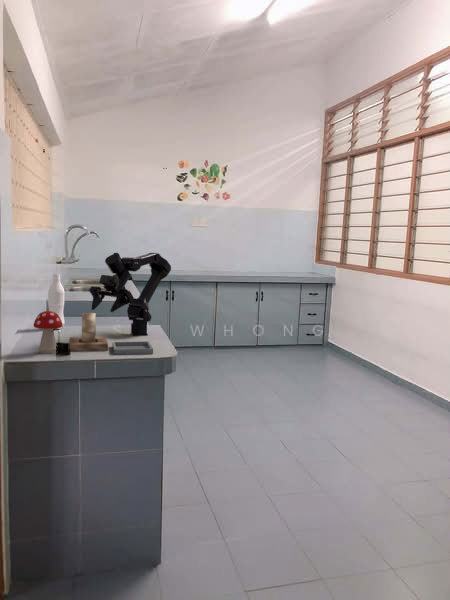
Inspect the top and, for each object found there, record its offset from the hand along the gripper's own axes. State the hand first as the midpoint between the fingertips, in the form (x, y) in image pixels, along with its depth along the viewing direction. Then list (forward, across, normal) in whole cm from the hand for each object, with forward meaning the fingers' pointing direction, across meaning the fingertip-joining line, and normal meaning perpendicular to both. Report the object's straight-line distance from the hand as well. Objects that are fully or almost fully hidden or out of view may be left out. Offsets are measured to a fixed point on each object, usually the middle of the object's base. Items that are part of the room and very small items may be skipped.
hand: (101, 310), depth 197 cm
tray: (+11, +17, +8) cm, 22 cm away
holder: (+15, 0, +4) cm, 15 cm away
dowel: (+15, 0, +4) cm, 15 cm away
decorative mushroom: (+26, -6, -6) cm, 27 cm away
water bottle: (-1, -37, +20) cm, 42 cm away
